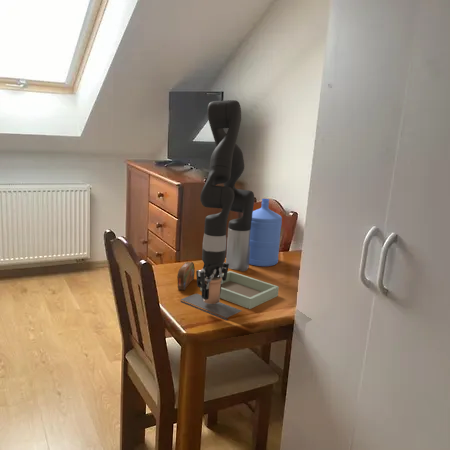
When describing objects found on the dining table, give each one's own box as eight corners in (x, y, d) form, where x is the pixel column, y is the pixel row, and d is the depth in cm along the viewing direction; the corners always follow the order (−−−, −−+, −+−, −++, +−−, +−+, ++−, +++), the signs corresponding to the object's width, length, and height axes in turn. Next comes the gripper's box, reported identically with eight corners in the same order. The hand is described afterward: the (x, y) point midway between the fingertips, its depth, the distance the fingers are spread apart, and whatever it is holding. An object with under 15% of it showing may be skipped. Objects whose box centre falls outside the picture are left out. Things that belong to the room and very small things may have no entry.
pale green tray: (229, 281, 185) (230, 270, 183) (277, 298, 171) (278, 286, 170) (199, 293, 171) (200, 281, 170) (249, 311, 158) (250, 299, 157)
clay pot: (210, 295, 163) (211, 272, 161) (224, 300, 160) (225, 277, 158) (197, 300, 158) (199, 277, 157) (212, 305, 155) (213, 282, 153)
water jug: (268, 269, 202) (274, 204, 196) (236, 261, 210) (240, 198, 203) (283, 261, 215) (289, 199, 209) (252, 253, 223) (257, 194, 216)
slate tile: (196, 296, 169) (196, 293, 168) (241, 313, 157) (242, 310, 156) (180, 302, 162) (180, 299, 162) (226, 320, 150) (226, 317, 150)
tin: (183, 294, 169) (184, 271, 167) (175, 293, 170) (176, 270, 168) (194, 280, 184) (196, 259, 182) (187, 279, 184) (188, 258, 182)
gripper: (219, 241, 162) (216, 287, 166) (190, 248, 151) (187, 298, 155) (237, 245, 158) (233, 294, 162) (208, 254, 147) (205, 305, 151)
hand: (211, 296), depth 159 cm, fingers closed on clay pot, 5 cm apart
